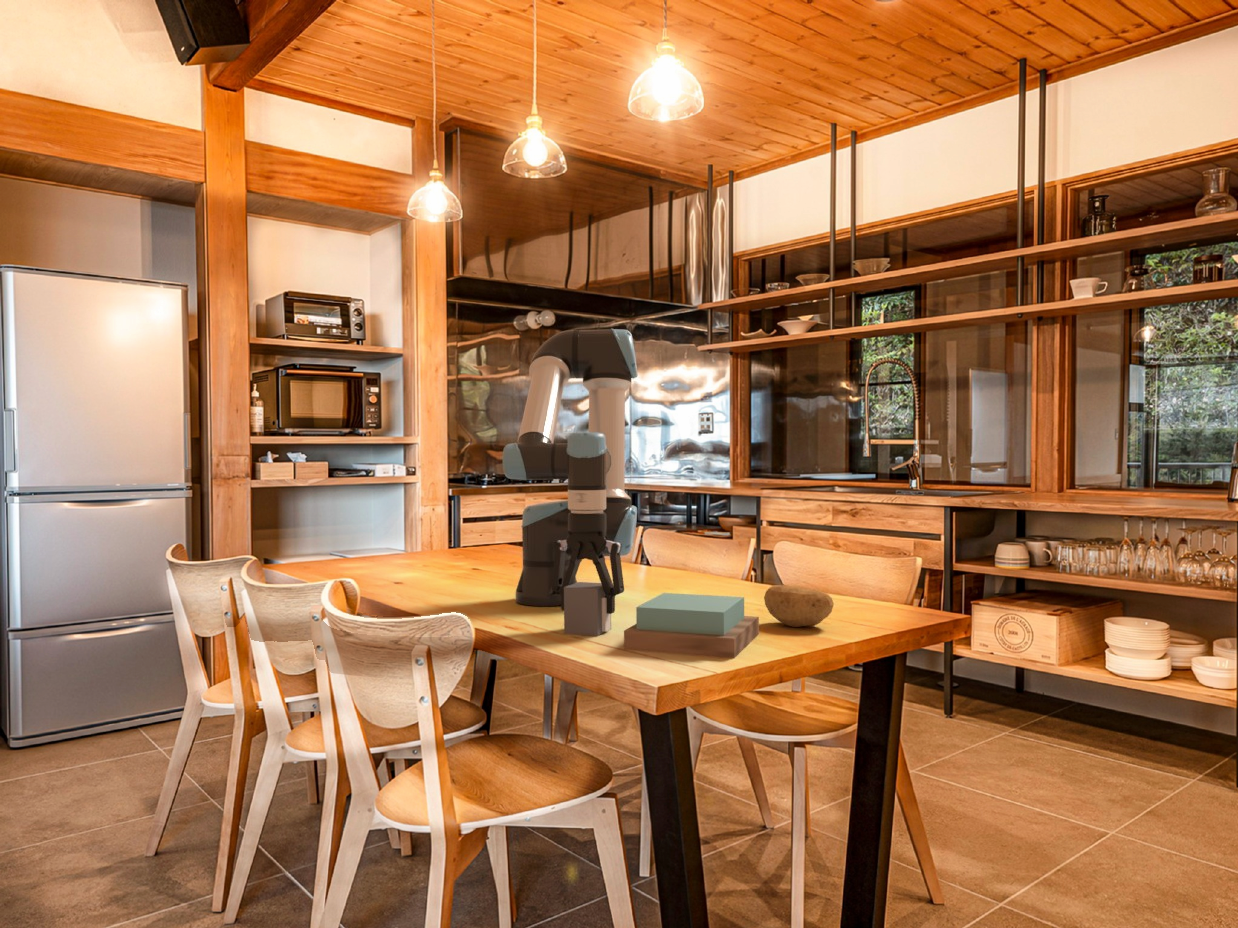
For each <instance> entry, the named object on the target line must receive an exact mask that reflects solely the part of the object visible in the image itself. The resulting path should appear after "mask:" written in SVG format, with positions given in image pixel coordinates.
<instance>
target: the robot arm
mask: <svg viewBox="0 0 1238 928" xmlns="http://www.w3.org/2000/svg"><path fill="white" fill-rule="evenodd" d="M634 344H635V343H634V339H633V335H632V333H631V332H630V331H629V330H628V329H619V328H618V329H617V328H615V329H614V328H605V329H603V328H601V329H568V330H564V331H560V332H558V333H556V334H554V335H552V336H550V337H549V338H548V339H546V341H544V342H543V344H541V346H539V347H538V349H537V350H536V351H535V353H534V354H533V356H532V358H531V361H530V365H529V369H528V374H529V378H530V379H531V380H530V384H529V389H528V394H527V398H526V402H525V407H524V411H523V416H522V419H521V424H520V429H519V433H518V436H517V442H513V443H508V444H506V445H505V446H504V447H503V452H502V469H503V473H504V475H505V477H506V478H507V479H510V480H523V481H527V480H528V481H530V480H531V481H533V480H534V481H535V480H539V481H540V480H567V499H565V500H556V501H548V502H542V503H535V504H530V505H528V506H526V507H525V508H524V509H523V511H522V522H521V523H522V524H521V529H522V531H521V532H522V533H521V534H522V535H521V536H522V571H521V573H520V576H519V579H518V580H519V581H518V583H517V587H516V589H515V603H517V604H519V605H524V606H534V607H551V606H552V607H553V606H554V607H557V606H560V608H561V609H560V610H561V611H563V612H564V587H566V586H569V585H571V584H574V583H577V582H578V580H577V577H576V576H577V574H578V570H579V567H580V564H581V563H582V561H583V560H585V559H586V560H589V561H590V560H591V561H592V564H593V565H594V566H595V569H596V571H597V576H598V577H599V582H600V583H601V584H602V587H603V590H604V592H605V596H604V597H602V631H604V632H605V633H607V632H608V631H610V630H612V614H614V613H615V611H616V596H618V595H620V594H623V593H624V592H625V586H624V585H625V583H624V576H623V568H622V559H621V557H624V556H628V555H629V554H630V553H631V552H632V549H633V546H634V541H635V536H636V535H635V534H636V527H637V519H638V518H637V517H638V508H637V506H635V505H632V498H631V497H630V495H628V494H627V493H626V491H625V487H626V485H625V484H626V483H625V481H626V479H625V477H626V476H625V474H626V473H625V472H626V471H625V470H626V469H625V467H626V466H625V463H626V461H625V459H626V458H625V456H626V455H625V454H626V453H625V449H626V446H625V445H626V444H625V442H626V441H625V440H626V439H625V438H626V436H625V435H626V428H625V427H626V413H625V412H626V392H627V390H629V389H630V387H632V380H633V379H636V378H638V367H637V359H636V351H635V346H634ZM570 379H582V386H583V387H584V388H585V389H586V390H587V391H588V432H572V433H570V434H569V435H568V436H567V442H563V443H562V442H559V443H558V442H554V441H555V436H556V431H557V424H558V418H559V414H560V408H561V402H562V397H563V391H564V387H565V386H566V385H567V383H569V381H570ZM605 557H609V561H610V568H611V575H610V572H609V569H608V567H607V564H606V558H605ZM611 577H612V578H611ZM606 631H607V632H606Z"/></svg>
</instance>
